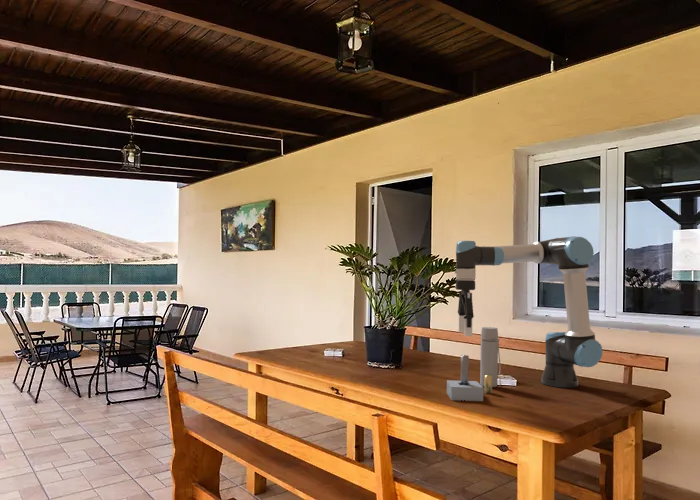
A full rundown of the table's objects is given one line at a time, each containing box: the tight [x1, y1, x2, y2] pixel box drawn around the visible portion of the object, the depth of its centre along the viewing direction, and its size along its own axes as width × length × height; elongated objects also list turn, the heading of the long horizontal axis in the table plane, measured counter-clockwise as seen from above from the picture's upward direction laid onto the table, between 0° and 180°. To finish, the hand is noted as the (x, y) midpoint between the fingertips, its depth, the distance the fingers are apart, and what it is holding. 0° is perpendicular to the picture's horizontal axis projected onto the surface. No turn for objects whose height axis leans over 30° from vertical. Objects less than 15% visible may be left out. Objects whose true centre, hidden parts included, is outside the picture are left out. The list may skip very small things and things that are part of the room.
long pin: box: [460, 354, 470, 385], centre depth 203 cm, size 3×3×16 cm
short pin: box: [483, 375, 493, 395], centre depth 211 cm, size 3×3×7 cm
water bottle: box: [479, 326, 502, 389], centre depth 224 cm, size 9×8×25 cm
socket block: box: [446, 379, 484, 402], centre depth 203 cm, size 12×12×5 cm
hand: (465, 334), depth 204 cm, fingers open, 13 cm apart
